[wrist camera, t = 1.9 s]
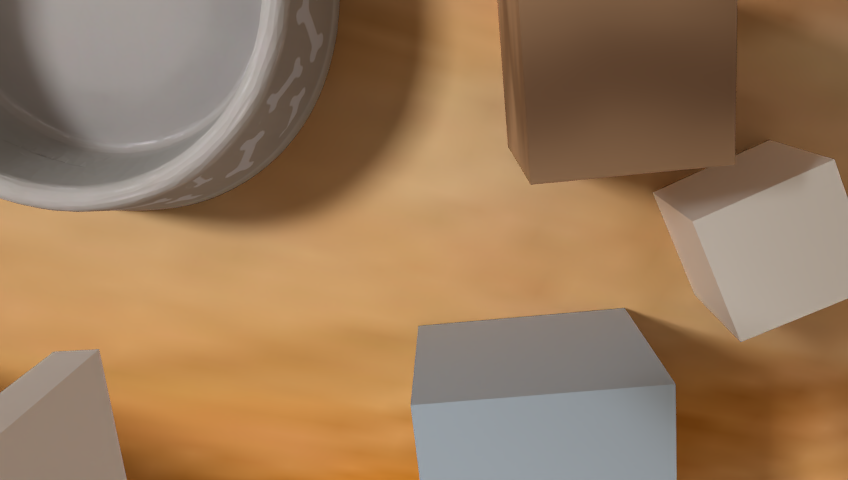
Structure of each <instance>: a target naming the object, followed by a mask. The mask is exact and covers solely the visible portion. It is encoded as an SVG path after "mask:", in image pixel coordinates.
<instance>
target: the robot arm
mask: <svg viewBox="0 0 848 480" xmlns="http://www.w3.org/2000/svg"><path fill="white" fill-rule="evenodd" d="M0 480H127V478H126V473H125V468H124V464H123V459H122V454H121V450H120V445H119V440H118V436H117V431H116V426H115V422H114V417H113V412H112V408H111V403H110V398H109V394H108V389H107V384H106V380H105V375H104V370H103V366H102V361H101V356H100V351H99V349H95V350H77V351H59V352H53V353H51V354H50V355H49V356H48V357H46V358H45V359H44V360H42V361H41V362H40V363H38V364H37V365H36V366H34V367H33V368H32V369H30V370H29V371H28V372H27V373H25V374H24V375H23V376H21V377H20V378H19V379H17V380H16V381H15V382H13V383H12V384H11V385H10V386H8V387H7V388H6V389H4V390H3V391H2V392H0Z"/></svg>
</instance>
